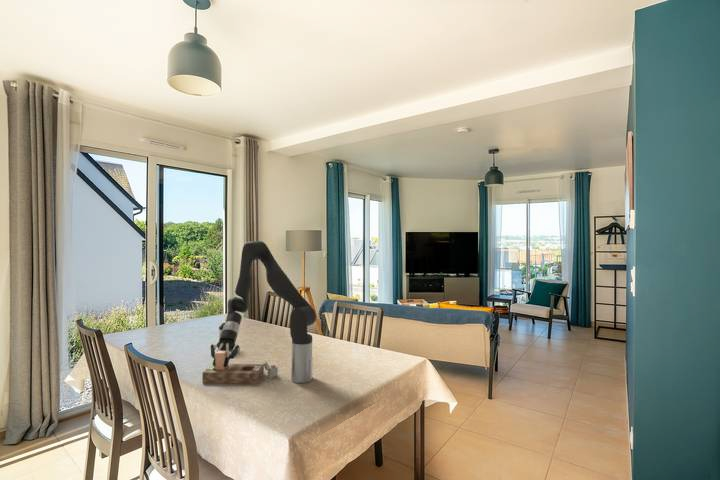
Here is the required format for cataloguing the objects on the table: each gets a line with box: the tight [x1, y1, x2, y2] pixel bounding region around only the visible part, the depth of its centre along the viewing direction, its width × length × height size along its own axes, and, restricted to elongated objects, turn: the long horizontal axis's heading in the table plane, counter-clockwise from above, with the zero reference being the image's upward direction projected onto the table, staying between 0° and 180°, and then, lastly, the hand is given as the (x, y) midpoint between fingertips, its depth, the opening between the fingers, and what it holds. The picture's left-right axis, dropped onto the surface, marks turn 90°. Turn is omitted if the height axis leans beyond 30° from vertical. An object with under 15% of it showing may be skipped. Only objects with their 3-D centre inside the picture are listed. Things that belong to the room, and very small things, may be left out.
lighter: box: [262, 360, 279, 379], centre depth 171 cm, size 7×2×8 cm, turn 133°
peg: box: [215, 350, 227, 370], centre depth 169 cm, size 4×4×10 cm
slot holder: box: [201, 363, 265, 385], centre depth 169 cm, size 24×12×5 cm, turn 90°
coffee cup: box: [218, 322, 234, 352], centre depth 211 cm, size 9×9×15 cm
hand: (219, 366), depth 167 cm, fingers closed on peg, 4 cm apart
